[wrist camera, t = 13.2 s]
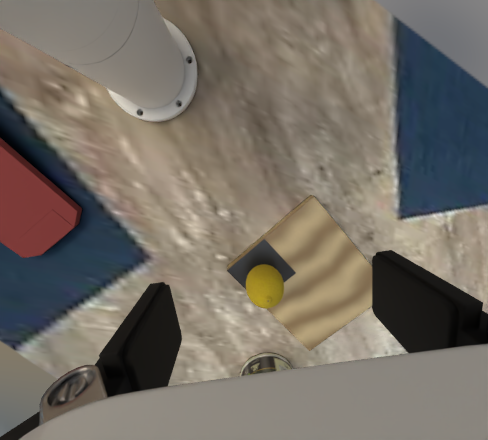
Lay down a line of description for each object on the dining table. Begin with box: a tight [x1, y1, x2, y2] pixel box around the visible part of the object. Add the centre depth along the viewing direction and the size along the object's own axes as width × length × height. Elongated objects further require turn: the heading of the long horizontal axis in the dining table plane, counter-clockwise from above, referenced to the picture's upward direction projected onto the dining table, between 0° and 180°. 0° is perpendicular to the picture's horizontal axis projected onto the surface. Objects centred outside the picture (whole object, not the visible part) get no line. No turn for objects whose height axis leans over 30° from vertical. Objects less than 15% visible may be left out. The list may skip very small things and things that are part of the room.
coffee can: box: [241, 353, 292, 376], centre depth 37 cm, size 10×10×14 cm
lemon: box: [246, 264, 284, 308], centre depth 33 cm, size 6×6×8 cm
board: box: [227, 195, 372, 351], centre depth 39 cm, size 22×18×2 cm
